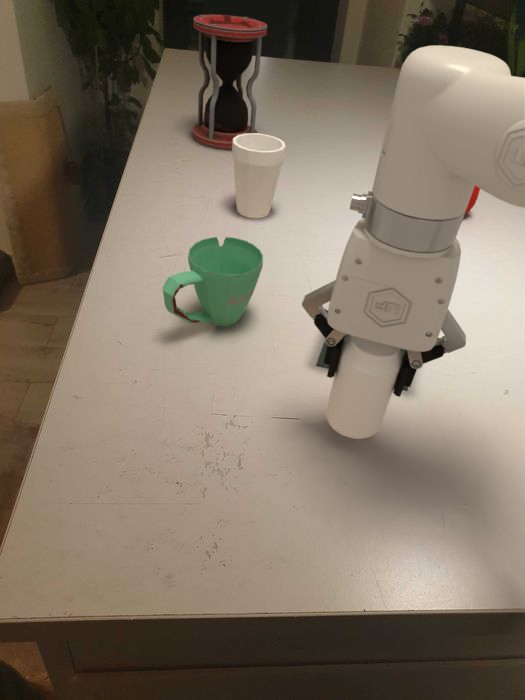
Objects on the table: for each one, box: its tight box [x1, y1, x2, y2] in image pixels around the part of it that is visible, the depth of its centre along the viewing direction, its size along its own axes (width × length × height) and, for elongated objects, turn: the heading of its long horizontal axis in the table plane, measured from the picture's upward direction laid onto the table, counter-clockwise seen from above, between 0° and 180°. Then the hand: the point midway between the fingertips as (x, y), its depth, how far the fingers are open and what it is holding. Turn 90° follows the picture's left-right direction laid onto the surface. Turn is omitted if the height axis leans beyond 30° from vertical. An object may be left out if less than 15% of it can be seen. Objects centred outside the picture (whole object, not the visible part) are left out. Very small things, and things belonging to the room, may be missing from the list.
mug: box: [162, 236, 264, 327], centre depth 70 cm, size 15×10×10 cm
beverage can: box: [325, 335, 403, 440], centre depth 55 cm, size 6×6×12 cm
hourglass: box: [192, 13, 268, 150], centre depth 122 cm, size 16×16×25 cm
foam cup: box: [231, 132, 287, 219], centre depth 97 cm, size 10×9×13 cm
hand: (365, 377), depth 55 cm, fingers closed on beverage can, 6 cm apart
